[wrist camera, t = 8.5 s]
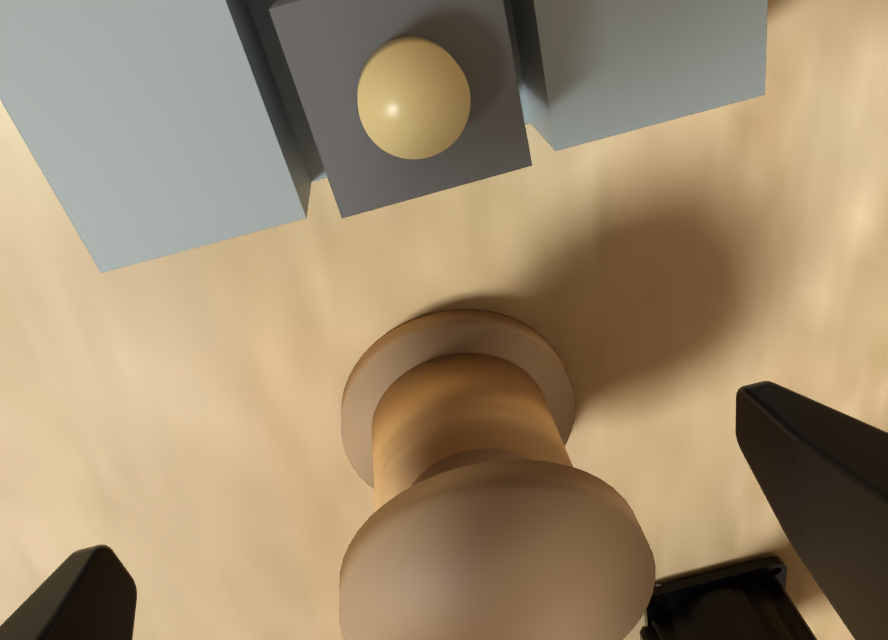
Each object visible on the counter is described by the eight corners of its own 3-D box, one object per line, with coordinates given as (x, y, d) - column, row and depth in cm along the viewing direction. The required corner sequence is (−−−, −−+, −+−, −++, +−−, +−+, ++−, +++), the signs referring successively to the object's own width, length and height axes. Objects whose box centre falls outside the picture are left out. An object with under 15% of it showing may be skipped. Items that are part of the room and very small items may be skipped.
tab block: (491, 110, 17) (541, 178, 13) (343, 152, 17) (341, 234, 13) (456, -62, 15) (502, -53, 11) (288, -14, 15) (264, 15, 11)
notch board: (689, -258, 15) (776, -303, 12) (697, 66, 18) (764, 95, 15) (-6, -66, 15) (-93, -62, 12) (140, 216, 19) (101, 273, 16)
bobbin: (550, 282, 21) (645, 452, 15) (579, 459, 26) (663, 655, 19) (309, 346, 21) (291, 544, 15) (378, 512, 26) (389, 726, 19)
